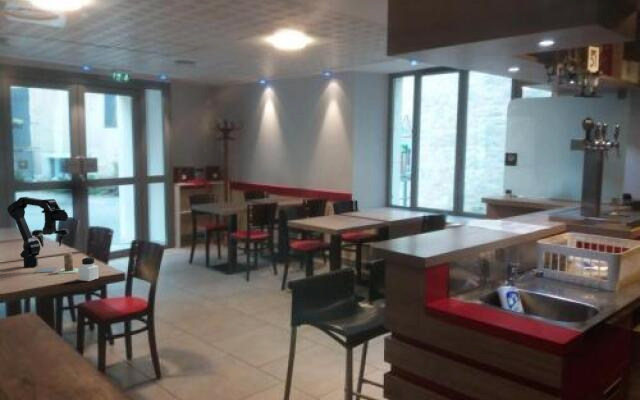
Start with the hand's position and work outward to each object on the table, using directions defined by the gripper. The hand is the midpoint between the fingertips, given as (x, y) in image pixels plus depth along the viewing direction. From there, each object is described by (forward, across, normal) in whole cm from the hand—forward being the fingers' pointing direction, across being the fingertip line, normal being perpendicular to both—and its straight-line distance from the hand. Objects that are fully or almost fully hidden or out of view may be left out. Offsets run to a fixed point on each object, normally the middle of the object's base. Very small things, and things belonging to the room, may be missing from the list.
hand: (51, 246), depth 296 cm
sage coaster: (+13, +12, -10) cm, 20 cm away
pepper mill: (+12, +11, -10) cm, 20 cm away
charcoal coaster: (+13, -2, -6) cm, 14 cm away
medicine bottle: (+13, +26, -32) cm, 43 cm away
